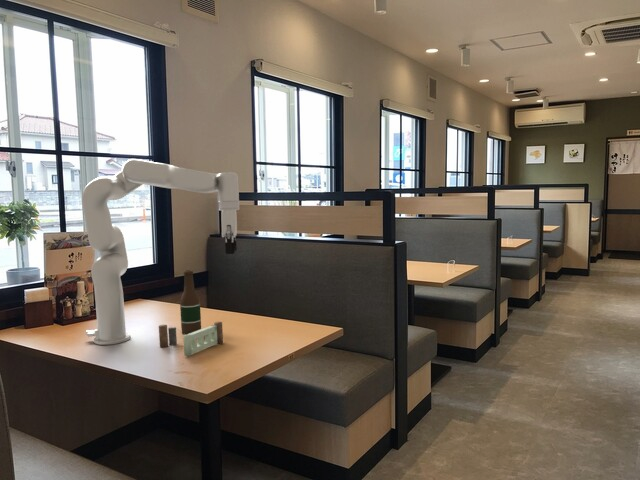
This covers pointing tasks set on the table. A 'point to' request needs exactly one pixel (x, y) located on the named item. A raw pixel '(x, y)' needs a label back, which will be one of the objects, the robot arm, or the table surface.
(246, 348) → the table surface
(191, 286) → the beer bottle
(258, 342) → the table surface
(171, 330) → the gate posts
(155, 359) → the table surface
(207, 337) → the gate
